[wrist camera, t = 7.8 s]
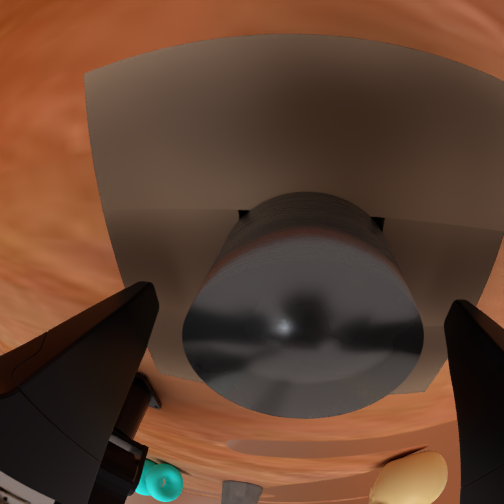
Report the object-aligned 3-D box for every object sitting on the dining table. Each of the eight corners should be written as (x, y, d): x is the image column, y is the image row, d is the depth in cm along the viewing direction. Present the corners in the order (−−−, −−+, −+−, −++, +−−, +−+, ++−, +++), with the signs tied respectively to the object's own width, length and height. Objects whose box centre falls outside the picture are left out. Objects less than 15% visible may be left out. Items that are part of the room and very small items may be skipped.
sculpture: (359, 467, 32) (356, 524, 23) (416, 442, 25) (421, 510, 16) (403, 469, 33) (403, 518, 23) (455, 443, 26) (462, 499, 17)
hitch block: (405, 321, 16) (424, 391, 11) (191, 308, 18) (159, 373, 13) (451, 87, 9) (524, 91, 4) (159, 76, 11) (84, 73, 6)
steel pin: (355, 266, 14) (381, 418, 7) (251, 260, 15) (203, 406, 7) (368, 161, 11) (460, 267, 4) (247, 156, 12) (157, 250, 5)
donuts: (133, 452, 48) (119, 484, 39) (159, 457, 44) (145, 494, 35) (162, 468, 51) (151, 499, 43) (190, 473, 47) (179, 507, 39)
